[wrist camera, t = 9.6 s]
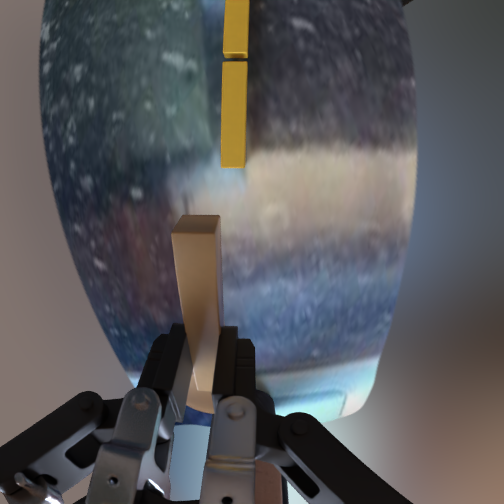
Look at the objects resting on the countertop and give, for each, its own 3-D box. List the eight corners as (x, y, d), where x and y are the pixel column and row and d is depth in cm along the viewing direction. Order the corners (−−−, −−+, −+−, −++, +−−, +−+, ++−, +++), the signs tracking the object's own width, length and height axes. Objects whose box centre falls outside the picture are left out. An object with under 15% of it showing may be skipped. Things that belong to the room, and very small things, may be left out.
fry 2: (224, 66, 15) (222, 61, 14) (247, 66, 15) (247, 61, 14) (223, 165, 18) (220, 168, 17) (245, 165, 18) (244, 168, 17)
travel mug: (211, 383, 28) (192, 557, 9) (280, 387, 28) (293, 559, 10) (213, 416, 31) (200, 555, 13) (272, 419, 31) (278, 558, 13)
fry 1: (229, -19, 12) (227, -29, 10) (250, -19, 12) (250, -29, 10) (225, 58, 15) (222, 52, 13) (247, 58, 15) (247, 52, 13)
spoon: (143, 214, 10) (127, 232, 8) (263, 215, 10) (265, 233, 8) (183, 398, 15) (180, 419, 14) (254, 402, 15) (254, 424, 14)
